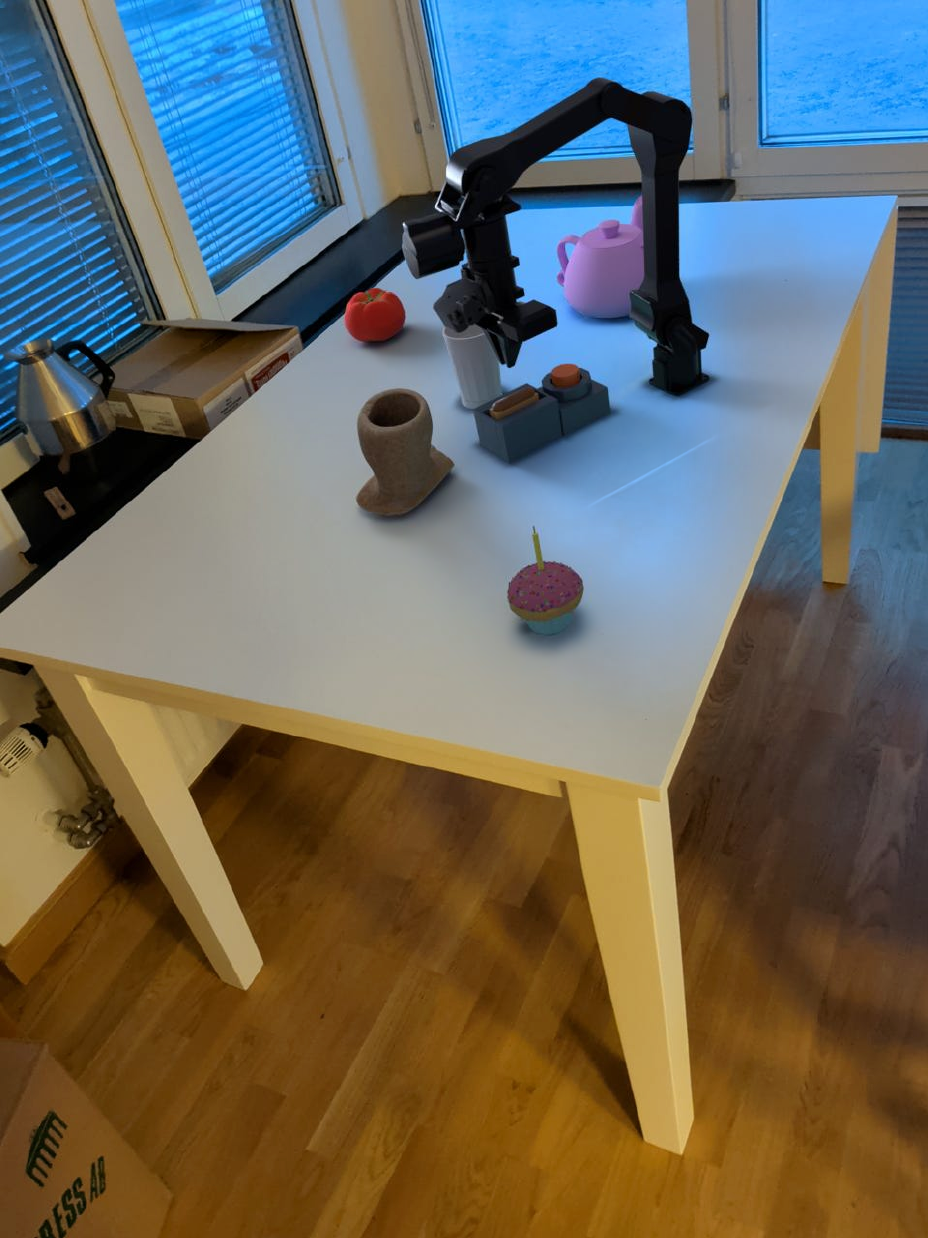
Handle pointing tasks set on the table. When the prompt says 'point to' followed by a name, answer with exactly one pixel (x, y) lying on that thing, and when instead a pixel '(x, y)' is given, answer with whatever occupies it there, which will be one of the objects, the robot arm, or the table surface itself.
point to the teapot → (604, 267)
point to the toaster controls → (578, 401)
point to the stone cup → (398, 452)
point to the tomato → (374, 315)
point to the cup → (473, 365)
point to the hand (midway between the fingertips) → (507, 365)
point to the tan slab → (513, 403)
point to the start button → (565, 375)
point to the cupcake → (545, 593)
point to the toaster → (519, 427)
